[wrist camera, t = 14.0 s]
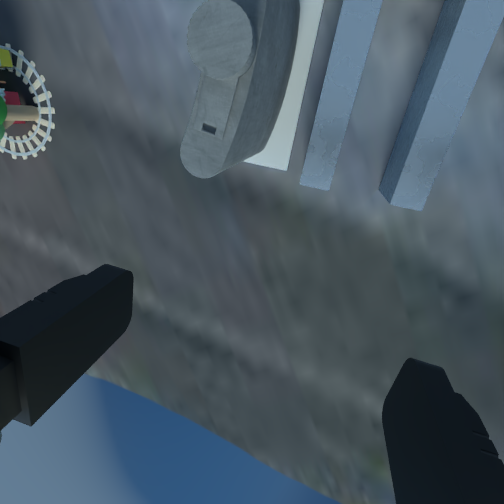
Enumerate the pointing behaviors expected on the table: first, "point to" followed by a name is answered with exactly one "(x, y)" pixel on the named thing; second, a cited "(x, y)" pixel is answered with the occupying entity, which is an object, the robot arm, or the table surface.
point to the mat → (292, 91)
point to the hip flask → (237, 79)
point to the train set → (23, 106)
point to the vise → (422, 100)
